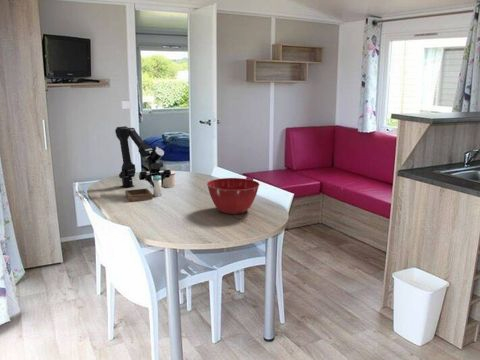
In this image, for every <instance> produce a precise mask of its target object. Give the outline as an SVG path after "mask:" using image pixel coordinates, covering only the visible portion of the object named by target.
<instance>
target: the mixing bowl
mask: <svg viewBox="0 0 480 360" xmlns="http://www.w3.org/2000/svg"><path fill="white" fill-rule="evenodd" d="M206 185H207V189H208V192H209V195H210V199H211V200H212V203H213V204H214V206H215V207H216V209H217V210H219V211H220V212H221V213H224V214H228V215H239V214H242V213H245V212H247V210H249V209H250V208H251V206H252V205H253V203H254V202H255V199H256V197H257V193H258V189H259V187H260V183H259V182H258V181H256V180H253V179H248V178H240V177H226V178H225V177H223V178H222V177H221V178H216V179H212V180H209V181H207V183H206Z"/></svg>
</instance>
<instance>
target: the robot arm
mask: <svg viewBox="0 0 480 360" xmlns="http://www.w3.org/2000/svg"><path fill="white" fill-rule="evenodd" d="M114 132H115V136H116V138H117V140H118V141H119V144H120V150H121V157H122V165H121V171H120V173H119V174H118V177H119V179H121V182H122V183H121V184H122V185H120V187H121V188H126V189H129V188H132V187H135V185H134V184H133V178H134V177H135V174H136V170H137V169H136V165H135V163H133V162H132V160H131V159H132V158H131V153H130V145H129V141H128V140H129V137H130V139H131V140H132V141H133V144H135V146H136V147H137V148H138V154H139V155H140V157H142V158H146V159H145V161H144V163H147V166H148V171H149V172H147V171H144V170H143V171H140V172H139V174H138V179H139V180H140V181H145V182H146V181H147V183H149V184H150V186H151V187H154V183H153V176H156V175H159V176H161V187H163V179H165V178H169V177H170V174H171V171H172V170H171V169H170V168H166V169H163V171H161V168H163V167H164V162H163V161H160V159H161V158H162V157H163V156H164V154H165V151H164V150H163V149H161V148H159V147H158V146H155V147H154V148H152V147H151V146H150V145H149V144H148V143H145V141H144V140H143V139H142V137H141V136H140V135H139V133H138V132H137V131H136V128H135V127H128V126H127V125H126V126H117V127H116V128H115V131H114ZM157 161H159V162H157ZM169 169H170V170H169ZM160 171H161V172H160ZM139 180H138V181H139Z"/></svg>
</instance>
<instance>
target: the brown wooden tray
mask: <svg viewBox="0 0 480 360" xmlns="http://www.w3.org/2000/svg"><path fill="white" fill-rule="evenodd" d="M124 193H125V197H126V199H127V200H128V201H129V202H130V203H133V202H140V201H149V200H153V192H152V191H150V190H149V189H148V188H137V189H128V190H124Z"/></svg>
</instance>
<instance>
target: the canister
mask: <svg viewBox="0 0 480 360" xmlns="http://www.w3.org/2000/svg"><path fill="white" fill-rule="evenodd" d="M152 180H153V183H154V187H153V186H152V187H153V188H152V189H153V197H155V198H159V197H162V194H163V192H162V188H163V187H162V186H161V176H159V175H156V176H152Z"/></svg>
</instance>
